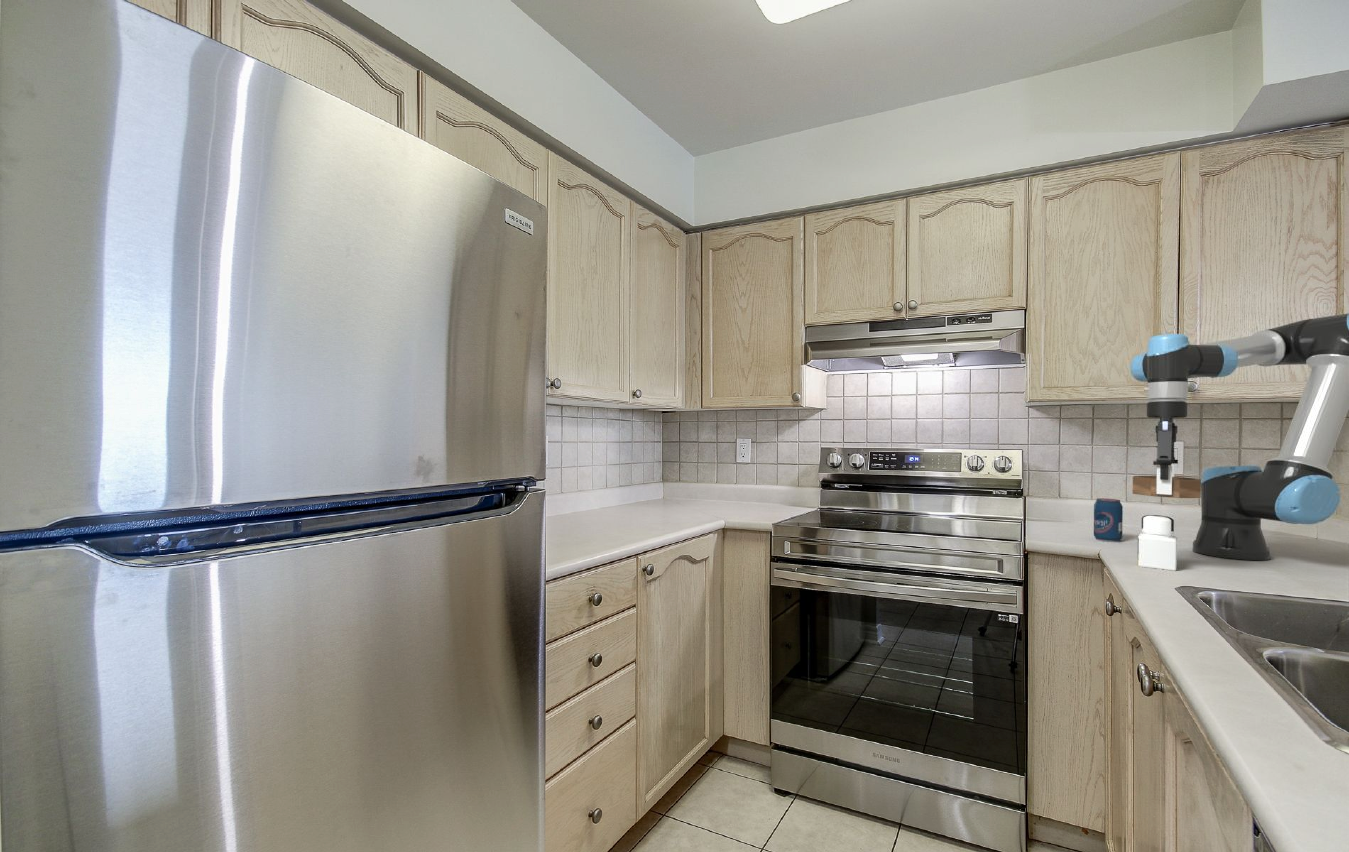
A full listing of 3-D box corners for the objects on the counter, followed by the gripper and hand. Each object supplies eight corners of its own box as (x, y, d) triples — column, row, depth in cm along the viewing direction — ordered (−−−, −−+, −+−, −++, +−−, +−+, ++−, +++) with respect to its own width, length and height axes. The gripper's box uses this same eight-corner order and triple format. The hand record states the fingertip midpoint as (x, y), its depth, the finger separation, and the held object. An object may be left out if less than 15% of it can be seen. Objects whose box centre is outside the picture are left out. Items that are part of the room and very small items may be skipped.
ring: (1167, 492, 154) (1167, 475, 154) (1215, 498, 141) (1215, 480, 141) (1120, 492, 152) (1120, 475, 152) (1164, 498, 140) (1164, 480, 140)
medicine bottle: (1139, 562, 153) (1139, 512, 153) (1176, 566, 149) (1177, 515, 149) (1137, 566, 148) (1137, 515, 148) (1176, 571, 143) (1176, 518, 143)
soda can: (1088, 539, 185) (1089, 498, 185) (1101, 537, 188) (1101, 497, 189) (1114, 543, 179) (1114, 501, 179) (1127, 541, 182) (1127, 500, 182)
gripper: (1150, 403, 159) (1149, 487, 159) (1142, 398, 140) (1141, 494, 140) (1188, 403, 154) (1187, 490, 154) (1186, 398, 135) (1184, 497, 135)
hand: (1165, 492), depth 147 cm, fingers closed on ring, 12 cm apart
